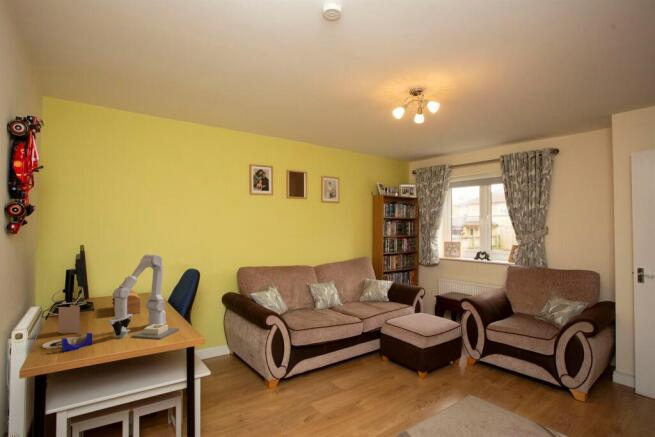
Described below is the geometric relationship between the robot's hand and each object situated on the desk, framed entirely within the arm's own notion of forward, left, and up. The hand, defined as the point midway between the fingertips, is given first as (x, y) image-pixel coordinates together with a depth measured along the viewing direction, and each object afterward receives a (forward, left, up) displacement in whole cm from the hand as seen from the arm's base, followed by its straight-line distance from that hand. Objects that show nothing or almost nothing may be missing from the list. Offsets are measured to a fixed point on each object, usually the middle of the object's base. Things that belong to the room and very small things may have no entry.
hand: (120, 333), depth 184 cm
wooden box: (-49, -43, -2) cm, 65 cm away
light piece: (+14, -20, -2) cm, 24 cm away
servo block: (0, 0, -2) cm, 2 cm away
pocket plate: (-8, +16, -1) cm, 18 cm away
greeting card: (0, -35, -2) cm, 35 cm away
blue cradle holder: (+19, -8, -2) cm, 20 cm away
